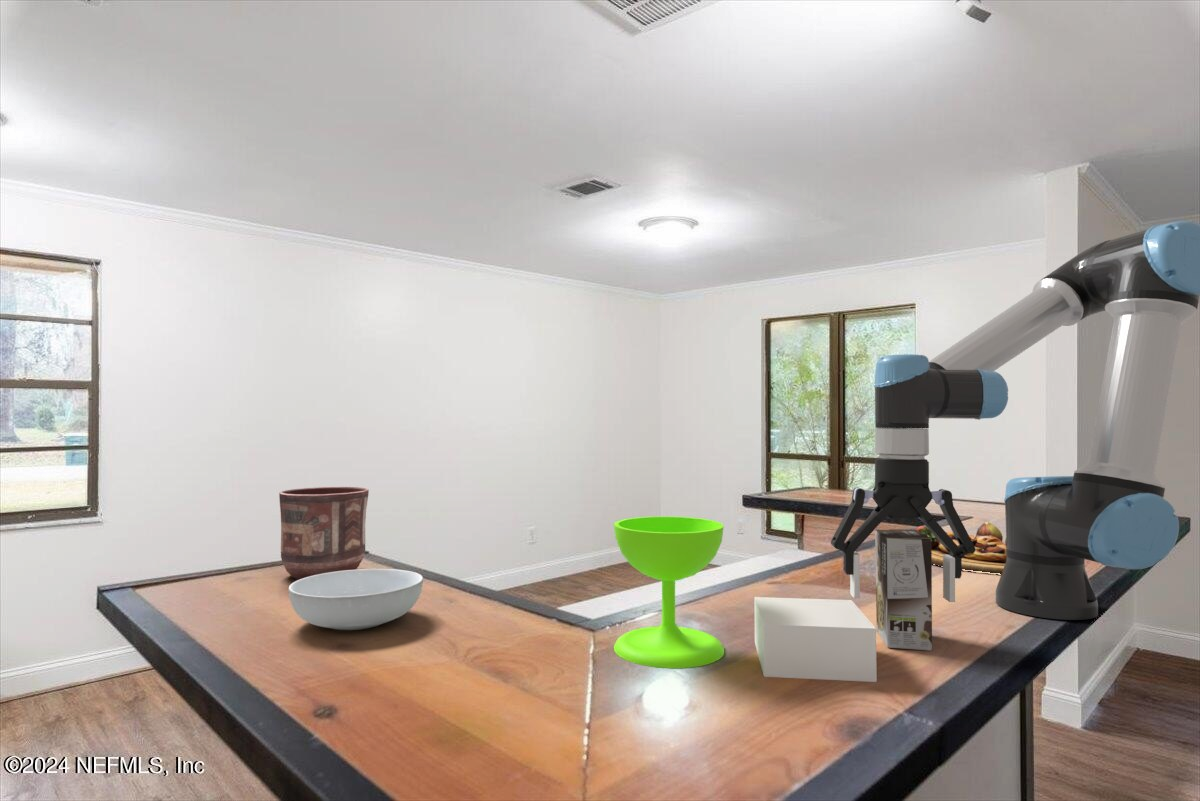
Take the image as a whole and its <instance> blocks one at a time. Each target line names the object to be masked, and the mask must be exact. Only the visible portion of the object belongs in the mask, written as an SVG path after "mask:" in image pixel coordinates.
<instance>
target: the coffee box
mask: <svg viewBox="0 0 1200 801" xmlns="http://www.w3.org/2000/svg"><path fill="white" fill-rule="evenodd" d="M874 531H875V533H874V535H875V537H874V539H875V540H874V543H875V544H874V545H875V547H874V548H875V549H874V550H875V554H874V555H875V599H876V600H875V602H876V603H875V604H876V608H875V609H876V611H875V612H876V615H875V616H876V633H878V635H879V636H880V638H881V639H882V641H883V642H884V644H885V645H886V647H887V648H888V649H903V650H916V651H929V652H930V651H933V607H932V606H933V602H932V601H933V600H932V599H933V597H932V596H933V594H932V593H933V592H932V591H933V589H932V588H933V587H932V586H933V585H932V583H933V582H932V581H933V580H932V578H933V577H932V576H933V571H932V570H933V569H932V568H933V567H932V566H933V565H932V539H931V538H929V537H927V536H926V535H924V534H922V533H920V532H919V531H917V530H916V529H900V528H899V529H897V528H896V529H895V528H891V529H877V528H875V529H874Z"/></svg>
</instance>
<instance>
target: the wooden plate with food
mask: <svg viewBox="0 0 1200 801" xmlns="http://www.w3.org/2000/svg"><path fill="white" fill-rule="evenodd" d="M915 530H917V531H919V532H920V533H922V534H924V535H926V536H927V537H929V538H931V539H932V564H935V565H939V566H943V554H946V555H950V553H949V552H948V551H947V550H946V548H945V547H944V546H943V545H942V544H941V543H940V542H939V540H938V539H937V538H936V537H935V536H934V535H933V533H932V532H931V531H930V530H929V529H928V528H927V527H926V526H925V525H920V526H918V527H916V528H915ZM945 532H946V531H945ZM946 533H947V534H948V536H949V537H950V538H951V539H952V540H953V541H954V542H955V544H956V545H957V546H958V545H959V543H958V541H957V539H956V537H955V535H954V533H953V532H951V531H949V532H948V531H947V532H946ZM968 535H969V537H970V539H971V541H972V543H973V544H974V546H975V549H976V550H975V552H974V553H969V554H966V555H965V556H964V558H962V568H961V569H965V570H973V571H982V572H990V573H1000V574H1002V572H1003V569H1004V566H1005V563H1006V539H1005V541H1004V542H1003V539H1004V537H1003V534H1002V532H1001V530H1000V529H999V528H998V527H997V526H996V525H994V524H992V523H991V522H989V521H986V522H983V523H982V524H981V525H980V526H978V528H977V530H976V535H975V536H974V535H972V534H968Z"/></svg>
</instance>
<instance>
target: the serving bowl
mask: <svg viewBox="0 0 1200 801" xmlns="http://www.w3.org/2000/svg"><path fill="white" fill-rule="evenodd" d="M423 583H424V576H423V575H422V574H420V573H419V572H418V573H417V572H415V571H411V570H406V569H395V568H394V569H393V568H362V569H361V568H359V569H358V568H356V569H355V570H345V571H336V572H330V573H323V574H318V575H313V576H309V577H306V578H303V579H300V580H297V579H296V580H295V581H293V582H292V583H291V584H289V586H288V596H289V601H290V604H291V606H292V607H291V608H293V610H294V612H295V613H296V615H298V617H299V618H300V619H301V620H303V621H305V622H306V623H308V624H311V625H314V626H317V627H321V628H327V629H333V630H336V631H337V630H338V631H359V630H367V629H370V628H374V627H378V626H380V625H381V626H382V625H383V624H386V623H388V622H391V621H394V620H395V619H398V618H401V617H403V615H405V614H406V613H408V612H409V611H410V610H412V608H413V607H414V606H415V604H416V603H417V601H418V600H419V598H420V596H421V593H422V590H423V589H422V588H423Z"/></svg>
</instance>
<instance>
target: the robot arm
mask: <svg viewBox="0 0 1200 801" xmlns="http://www.w3.org/2000/svg"><path fill="white" fill-rule="evenodd" d="M1199 302H1200V224H1199V223H1196V222H1193V221H1187V220H1180V221H1179V220H1178V221H1173V222H1168V223H1165V224H1163V223H1162V224H1155V225H1154V226H1151V227H1149V228H1147V229H1144V230H1140V231H1137V232H1134V233H1130V234H1128V235H1123V236H1120V237H1117V238H1112V239H1109V240H1105V241H1102V242H1099V243H1097V244H1095V245H1093V246H1091V247H1088V248H1087V249H1085V250H1083V251H1081V252H1080V253H1079V254H1077V255H1075V256H1073V257H1072V258H1071V259H1069V260H1068V261H1066V262H1065V263H1064V264H1062V265H1060V266H1059V267H1057V268H1056V269H1055V270H1053V271H1052V272H1050V273H1049V274H1047V275H1046V276H1044V277H1042V278H1041V279H1039V280H1038V281H1037V282H1036V283H1035V284H1034V286H1033V288H1032V292H1031V293H1029V294H1028V295H1027V296H1025V297H1023V298H1022V299H1020V300H1019V301H1017V302H1016V303H1014V304H1013V305H1011V306H1010V307H1008V308H1007V309H1005V310H1003V312H1001V313H999V314H998V315H996V316H995V317H993V318H992V319H990V320H988V321H987V322H986V323H985V324H983V325H981V326H980V327H978V328H977V329H976V330H974V331H973V332H972V331H971V333H969V334H967V335H966V336H964V337H963V338H961V340H958V341H957V342H956V343H955V344H953V345H952V346H949V348H947V349H945V350H944V351H942V352H941V353H939V354H938V355H936V356H935V357H934V358H932V359H930V360H929V358H928V357H927V356H926V355H924V354H908V353H907V354H905V353H904V354H891V355H890V354H889V355H883V356H880V357H879V358H878V359H877V361H876V365H875V371H874V383H873V388H874V406H875V407H874V409H875V410H874V418H875V420H874V421H875V422H874V423H875V424H874V427H875V428H874V432H875V434H874V435H875V436H874V437H875V438H874V453H875V454H876V455H878V456H879V457H876V459H875V460H874V487H873V489H871V490H870V489H865V488H861V487H859V486H856V487H853V490H852V497H851V502H850V504H849V505H848V507H847V509H846V512H845V513H844V515H843V517H842V519H841V520H840V523H839V525H838V527H837V529H836V531H835V533H834V534H833V536H832V539H831V540H830V544H831V546H833V548H835V549H837V550H839V551H842V554H843V556H842V559H843V563H842V564H843V567H842V568H843V572H844V573H845V575H847V576H848V575H849V580H850V581H849V584H850V585H849V586H850V587H849V588H850V590H849V594H850V595H851V596H852V597H853V599H860V597H861V596H860V584H861V582H860V578H861V577H860V573H861V572H860V569H861V568H860V566H861V565H860V564H861V562H860V559H861V557H860V556H861V555H860V553H858V552H857V550H858V548H859V547H860V546H862V544H863V543H864V541H866V540H867V538H869V536H870V535H871V534H872V533H873V532H874V531H875V529H877V527H878V526H879V525H880V524H881V523H883V522H884V521H885V520H886V519H887V518H889V519H892V520H901V519H905V520H911V521H913V520H914V521H915V519H919V520H920V521H921V522H922V523H923V524H924V526H925V527H927V528H928V529H929V530H930V531H931V532H932V533H933V535H934V536H935V537H936V538H937V539H938V540H939V542H940V543H941V544H942V545H943V546H944V547H945V548H946V550H947V551H948V552H949V553H950V555H946V554H943V568H942V573H943V574H942V598H943V599H944V600H946V601H947V602H949V603H956V579H959V580H960V579H961V578H962V575H963V574H962V573H963V571H962V569H961V568H962V558H964V556H965V555H966V554H969V553H974V552H975V550H976V549H975V546H974V544H973V543H972V541H971V539H970V537H969V535H970V534H969V533H968V532H967V529H966V528H965V526H964V524H963V521H962V520H961V518H960V516H959V514H958V511H957V510H956V508H955V506H954V501H953V499H954V498H953V494H952V492H951V491H950V490H947V489H943V488H940V489H939V490H933V491H931V489H930V486H929V484H930V462H929V461H928V459H926V458H925V456H928V455H929V454H930V443H929V442H930V439H929V437H930V436H929V428H930V425H929V424H930V419H962V420H963V419H966V420H967V419H970V420H973V419H974V420H983V419H993V418H996V417H998V416H1000V415H1001V414H1002V413H1003V412H1004V411H1005V409H1006V408H1007V405H1008V400H1009V388H1008V383H1007V382H1006V380H1005V378H1004V377H1003V376H1002V375H1001V373H999V372H997V370H998V369H999V368H1001V367H1002V366H1004V365H1006V364H1007V363H1008V362H1010V361H1011V360H1013V359H1015V358H1016V357H1017V356H1019V355H1020V354H1022V353H1023V352H1025V351H1026V350H1028V349H1029V348H1031V347H1032V346H1034V345H1035V344H1037V343H1038V342H1041V341H1042V340H1043V339H1044V338H1046V337H1047V336H1049V335H1050V334H1051V333H1054V332H1055V331H1056V330H1058V329H1059V328H1061V327H1062V326H1064V327H1071V326H1074V325H1076V324H1078V323H1079V322H1081V321H1082V320H1083V319H1085V318H1087V317H1089V316H1093V315H1094V314H1098V313H1101V312H1105V311H1106V312H1107V313H1108V315H1110V317H1112V319H1113V324H1112V329H1111V334H1110V339H1109V340H1110V341H1109V345H1108V350H1107V356H1106V361H1105V367H1104V372H1103V377H1102V382H1101V383H1102V384H1101V388H1100V394H1099V400H1098V405H1097V410H1096V415H1095V422H1094V427H1093V433H1092V438H1091V442H1090V446H1089V453H1088V458H1087V462H1086V463H1085V465H1083V466H1081V467H1079V468H1078V469H1076V470H1074V471H1073V475H1066V476H1065V475H1059V476H1058V475H1057V476H1055V475H1053V476H1030V477H1029V476H1028V477H1027V476H1026V477H1015V478H1014V477H1013V478H1011V479H1009V481H1007V483H1006V485H1005V497H1004V500H1003V501H1004V508H1005V540H1006V563H1005V566H1004V569H1003V572H1002V574H1001V575H1000V577H999V580H998V583H997V586H996V588H995V604H996V605H997V606H999V607H1000V608H1003V609H1005V610H1007V611H1010V612H1013V613H1014V612H1015V613H1017V614H1021V615H1026V616H1031V617H1036V618H1037V617H1038V618H1044V619H1049V620H1050V619H1052V620H1065V621H1081V620H1082V621H1083V620H1091V619H1095V618H1097V617H1098V616H1099V604H1098V599H1097V596H1096V594H1095V592H1094V589H1093V587H1092V584H1091V581H1090V578H1089V574H1087V571H1086V565H1085V564H1086V563H1085V562H1086V561H1085V560H1087V561H1091V562H1095V563H1098V564H1101V565H1103V566H1106V567H1111V568H1121V569H1122V568H1123V569H1127V570H1143V569H1146V568H1150V567H1152V566H1155V565H1156V563H1158V562H1161V561H1163V560H1164V559H1165V558H1166V557H1167V556H1168V555H1169V554H1170V553H1171V552H1172V550H1173V548H1174V547H1175V545H1176V542H1177V541H1178V537H1179V533H1180V522H1179V521H1180V520H1179V517H1178V515H1176V514H1175V511H1176V510H1175V508H1174V506H1173V505H1172V504H1171V503H1170V502H1169V501H1168V500H1166V499H1165V498H1164V497H1165V491H1166V486H1165V485H1164V484H1163V482H1162V481H1161V480H1160V479H1159V478H1158V477H1157V475H1156V470H1157V464H1158V460H1159V459H1158V458H1159V452H1160V446H1161V442H1162V436H1163V431H1164V425H1165V424H1164V423H1165V421H1166V420H1165V419H1166V413H1167V409H1168V402H1169V396H1170V393H1171V392H1170V391H1171V386H1172V380H1173V374H1174V368H1175V364H1176V357H1177V352H1178V348H1179V347H1178V346H1179V341H1180V335H1181V330H1182V325H1183V323H1184V322H1186V321H1188V320H1189V319H1191V318H1193V317H1194V316H1195V315H1196V314H1197V313H1198V307H1199ZM871 498H872V500H873V501H874V502H875V503H876V507H875V508H873V510H872V511H871V512H870V515H869V516H868V517H867V518H866V519H865V520H864V521H863V522H862V523H861V525H859V527H858V528H857V529H856V530H855V531H854V533H853V534H852V535H851V536H850V537H849V538H848V536H849V535H850V533H851V530H852V529H853V527H854V524H855V523H856V522H857V519H858V517H859V515H860V513H862V512H861V511H862V509H863V507H864V504H867V503H868V502H869V500H870V499H871ZM932 500H933V501H934V502H935V505H938V506H939V508H940V510H941V512H942V514H943V516H944V518H945V520H946V521H947V523H948V526H949V527H950V529H951V531H952V533H954V535H955V537H956V539H957V541H958V543H959V545H958V546H957V545H956V544H955V542H954V541H953V540H952V539H951V538H950V537H949V536H948V534H947V533H948V532H947V533H946V531H945V530H944V529H943V527H942V526H941V525H940V524H939V523H938V521H936V519H935V518H934V516H933V515H932V514H931V512H930V511H929V510H928V509H927V507H928V505H929V504H930V503H931V501H932Z"/></svg>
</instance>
